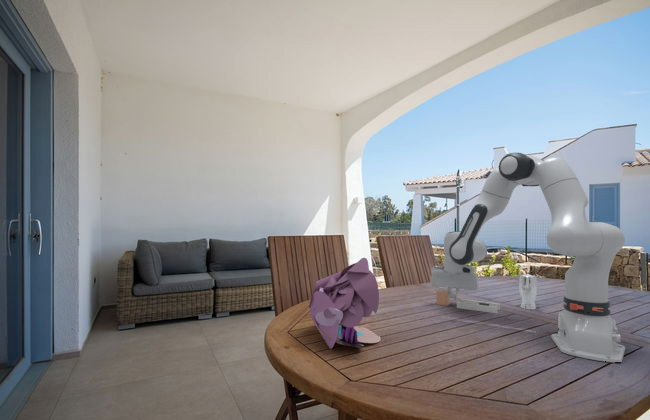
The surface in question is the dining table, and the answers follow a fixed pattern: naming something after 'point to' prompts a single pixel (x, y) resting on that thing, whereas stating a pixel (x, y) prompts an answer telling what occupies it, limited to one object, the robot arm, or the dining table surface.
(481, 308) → the chute
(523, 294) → the beer glass
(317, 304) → the flower arrangement
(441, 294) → the block
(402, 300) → the dining table surface
